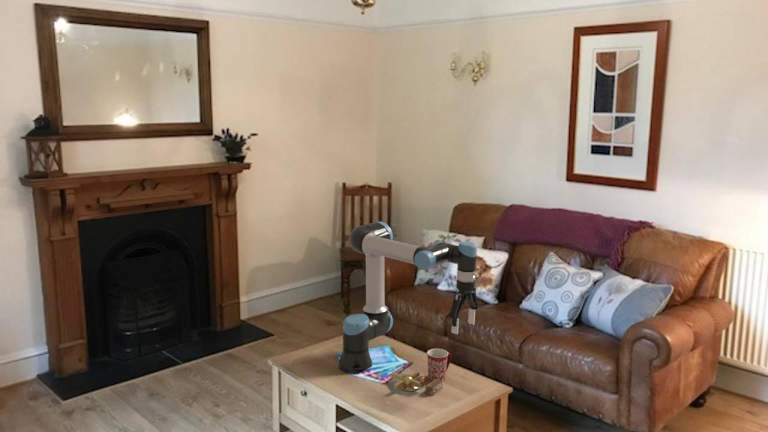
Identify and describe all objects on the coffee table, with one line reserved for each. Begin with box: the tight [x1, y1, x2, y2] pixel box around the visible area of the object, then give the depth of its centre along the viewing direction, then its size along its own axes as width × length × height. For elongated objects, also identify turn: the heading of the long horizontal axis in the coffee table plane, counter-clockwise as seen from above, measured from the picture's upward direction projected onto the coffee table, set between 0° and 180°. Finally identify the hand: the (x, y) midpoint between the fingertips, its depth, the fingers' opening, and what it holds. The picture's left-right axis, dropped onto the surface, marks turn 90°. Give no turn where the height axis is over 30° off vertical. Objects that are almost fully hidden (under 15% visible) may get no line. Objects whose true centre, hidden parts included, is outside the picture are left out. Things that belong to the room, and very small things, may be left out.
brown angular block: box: [425, 379, 443, 397], centre depth 265 cm, size 4×8×5 cm, turn 142°
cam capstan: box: [390, 371, 425, 392], centre depth 268 cm, size 16×16×7 cm
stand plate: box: [387, 378, 426, 397], centre depth 269 cm, size 16×16×2 cm
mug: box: [426, 348, 452, 383], centre depth 277 cm, size 13×9×14 cm
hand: (463, 328), depth 265 cm, fingers open, 13 cm apart
